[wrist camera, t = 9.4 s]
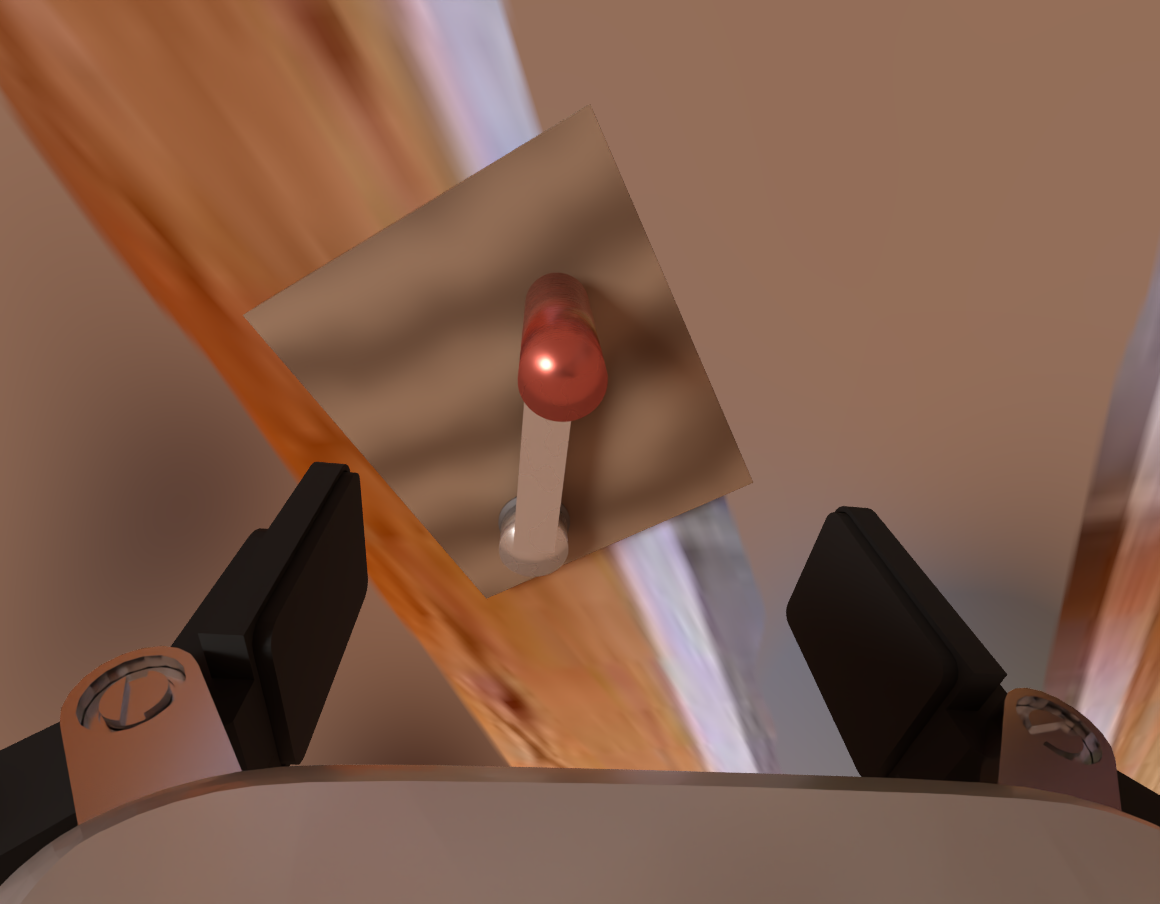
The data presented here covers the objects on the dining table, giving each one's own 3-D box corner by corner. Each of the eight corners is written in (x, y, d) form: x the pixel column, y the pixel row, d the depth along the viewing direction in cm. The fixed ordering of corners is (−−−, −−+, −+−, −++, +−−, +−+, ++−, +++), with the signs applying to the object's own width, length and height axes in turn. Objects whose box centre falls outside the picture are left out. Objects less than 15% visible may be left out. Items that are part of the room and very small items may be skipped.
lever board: (260, 303, 29) (241, 316, 27) (587, 105, 25) (590, 104, 23) (488, 577, 39) (486, 600, 38) (743, 465, 36) (754, 484, 34)
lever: (517, 263, 26) (504, 332, 18) (601, 272, 27) (629, 344, 18) (499, 550, 35) (485, 690, 26) (563, 553, 35) (569, 692, 27)
